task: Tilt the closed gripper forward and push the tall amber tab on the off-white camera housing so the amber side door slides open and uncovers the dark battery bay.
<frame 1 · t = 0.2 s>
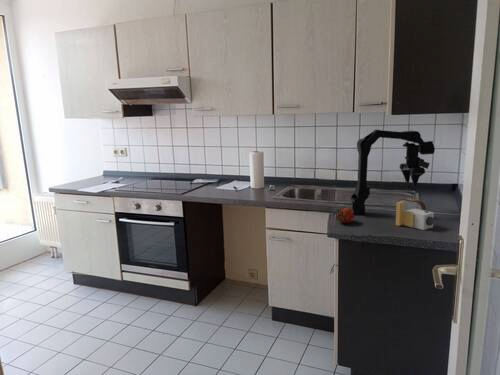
hand: (411, 184, 204), 15 cm above the worktop, tool pointing down, fingers open, 9 cm apart
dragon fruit: (345, 222, 192), on the worktop
camera housing: (418, 226, 182), on the worktop
side door: (404, 214, 181), point 6 cm above the worktop, slide at 0.0 cm
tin: (410, 215, 201), on the worktop
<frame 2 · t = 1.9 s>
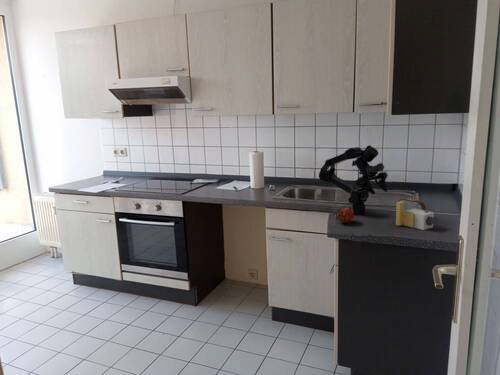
hand: (380, 192, 192), 14 cm above the worktop, tool tilted 40°, fingers open, 9 cm apart
nothing on the worktop moved.
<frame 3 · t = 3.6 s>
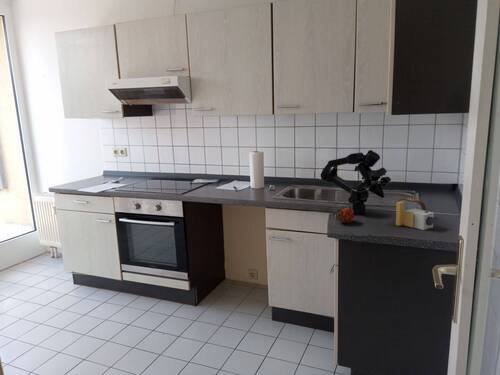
hand: (383, 197, 190), 12 cm above the worktop, tool tilted 45°, fingers closed
nothing on the worktop moved.
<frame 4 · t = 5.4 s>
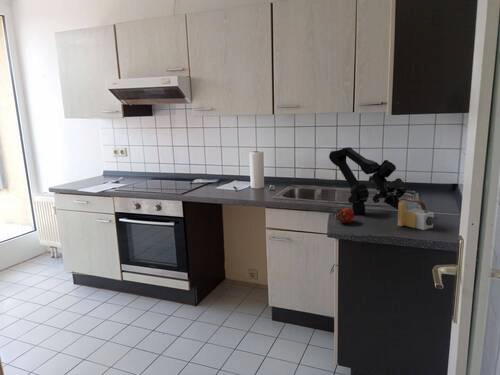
hand: (399, 209, 183), 8 cm above the worktop, tool tilted 45°, fingers closed, pressing on side door
side door: (406, 215, 180), point 6 cm above the worktop, slide at 1.1 cm, touching gripper
everything else where it was.
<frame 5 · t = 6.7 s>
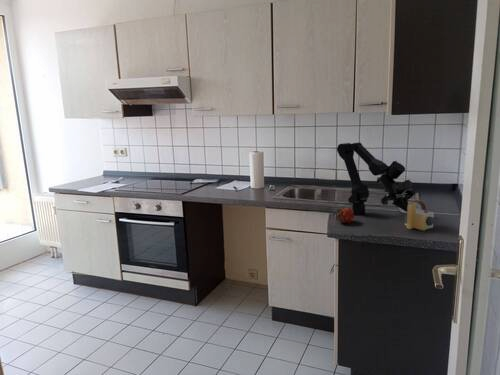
hand: (408, 211, 178), 8 cm above the worktop, tool tilted 45°, fingers closed, pressing on side door
side door: (416, 217, 175), point 6 cm above the worktop, slide at 6.1 cm, touching gripper
everything else where it was.
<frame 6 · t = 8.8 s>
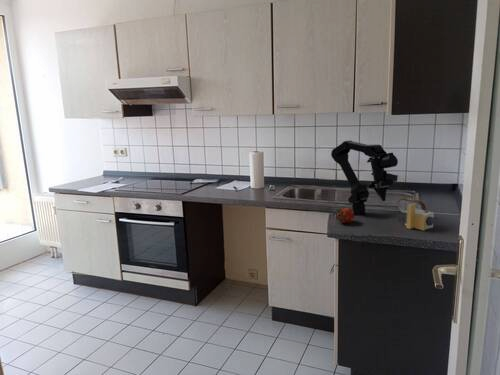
hand: (383, 201, 190), 10 cm above the worktop, tool tilted 15°, fingers closed
side door: (416, 217, 176), point 6 cm above the worktop, slide at 6.0 cm
everything else where it was.
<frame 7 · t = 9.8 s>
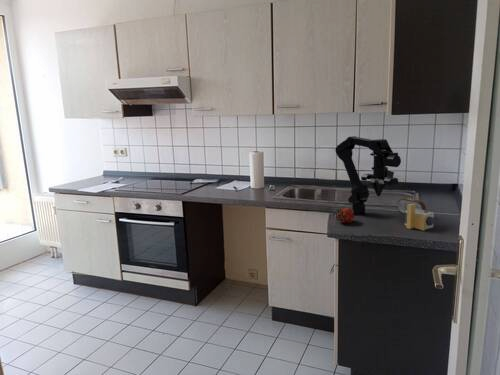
hand: (378, 196, 193), 12 cm above the worktop, tool pointing down, fingers closed
nothing on the worktop moved.
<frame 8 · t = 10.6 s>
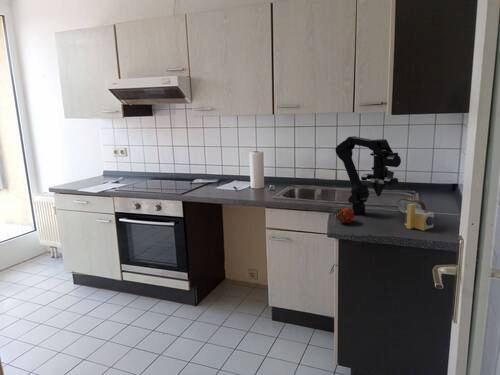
hand: (378, 196, 193), 12 cm above the worktop, tool pointing down, fingers closed
nothing on the worktop moved.
at the end: side door slide at 6.0 cm; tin moved 0.3 cm from its start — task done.
